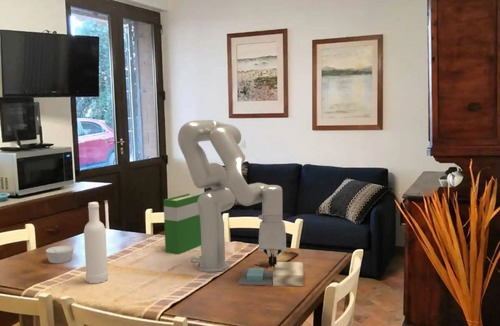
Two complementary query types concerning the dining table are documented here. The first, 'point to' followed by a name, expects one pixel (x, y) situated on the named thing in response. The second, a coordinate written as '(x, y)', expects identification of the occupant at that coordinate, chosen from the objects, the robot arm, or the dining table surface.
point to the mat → (266, 281)
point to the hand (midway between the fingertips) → (272, 266)
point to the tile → (255, 274)
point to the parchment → (280, 258)
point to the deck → (288, 274)
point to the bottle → (95, 247)
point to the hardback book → (181, 224)
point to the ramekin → (59, 254)
